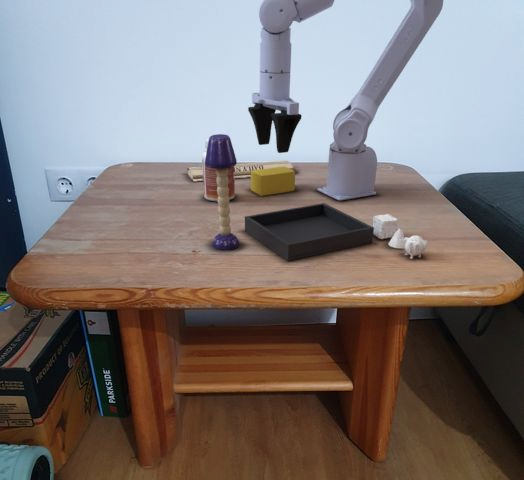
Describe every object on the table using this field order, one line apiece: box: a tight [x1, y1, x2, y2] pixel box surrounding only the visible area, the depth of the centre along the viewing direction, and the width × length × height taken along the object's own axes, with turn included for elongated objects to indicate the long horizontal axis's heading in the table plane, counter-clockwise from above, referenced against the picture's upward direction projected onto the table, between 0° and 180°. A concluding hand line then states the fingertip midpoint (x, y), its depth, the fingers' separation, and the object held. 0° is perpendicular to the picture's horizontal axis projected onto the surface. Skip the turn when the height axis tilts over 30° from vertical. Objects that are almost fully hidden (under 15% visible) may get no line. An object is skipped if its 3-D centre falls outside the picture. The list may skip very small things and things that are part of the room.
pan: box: [244, 202, 374, 262], centre depth 88 cm, size 16×14×3 cm
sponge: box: [250, 166, 296, 197], centre depth 110 cm, size 8×4×4 cm, turn 119°
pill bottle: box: [201, 137, 236, 203], centre depth 103 cm, size 6×6×11 cm
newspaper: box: [186, 160, 294, 182], centre depth 121 cm, size 24×7×2 cm, turn 108°
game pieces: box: [371, 213, 428, 259], centre depth 85 cm, size 12×3×3 cm, turn 20°
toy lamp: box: [205, 133, 240, 251], centre depth 81 cm, size 5×5×17 cm
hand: (273, 148), depth 106 cm, fingers open, 7 cm apart
